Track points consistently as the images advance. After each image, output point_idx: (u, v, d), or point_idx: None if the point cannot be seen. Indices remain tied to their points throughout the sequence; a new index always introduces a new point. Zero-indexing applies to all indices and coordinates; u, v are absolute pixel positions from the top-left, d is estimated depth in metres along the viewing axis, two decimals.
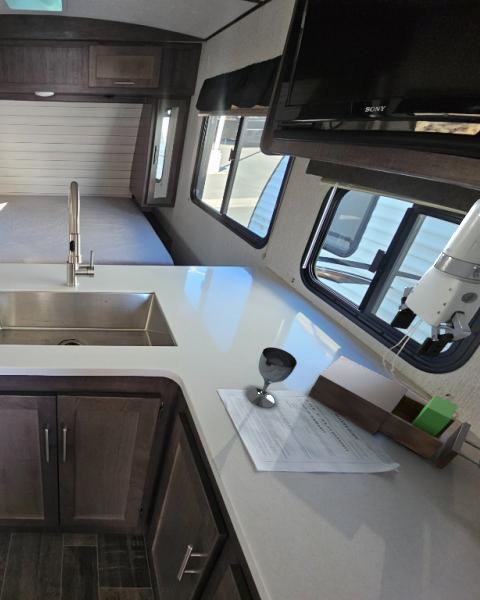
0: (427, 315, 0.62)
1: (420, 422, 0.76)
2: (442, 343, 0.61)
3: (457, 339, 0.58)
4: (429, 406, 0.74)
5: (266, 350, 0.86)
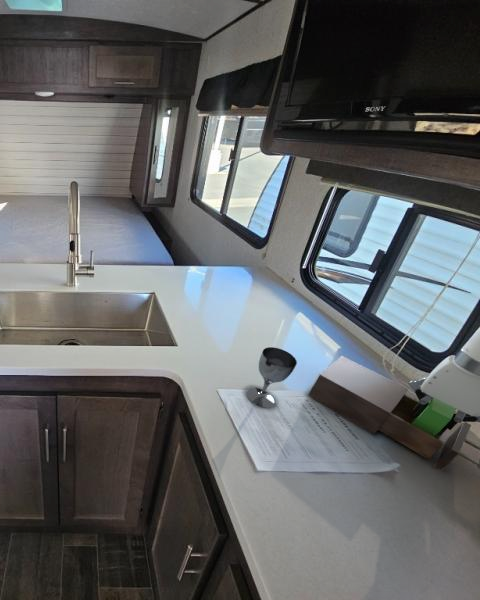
0: (465, 407, 0.70)
1: (420, 422, 0.76)
2: None
3: None
4: (429, 406, 0.74)
5: (266, 350, 0.86)
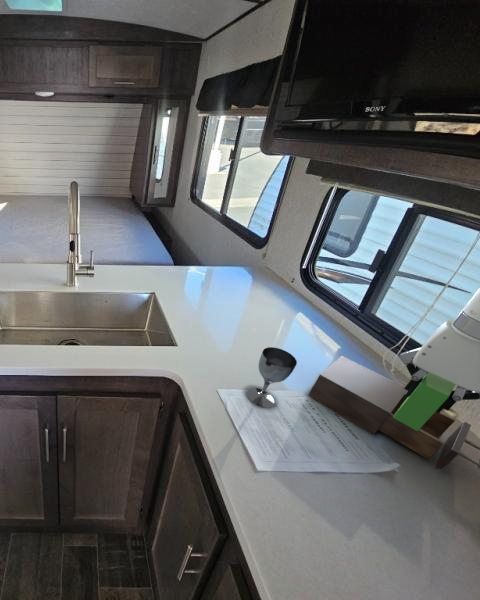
0: (466, 382, 0.58)
1: (412, 402, 0.64)
2: None
3: None
4: (423, 382, 0.62)
5: (266, 350, 0.86)
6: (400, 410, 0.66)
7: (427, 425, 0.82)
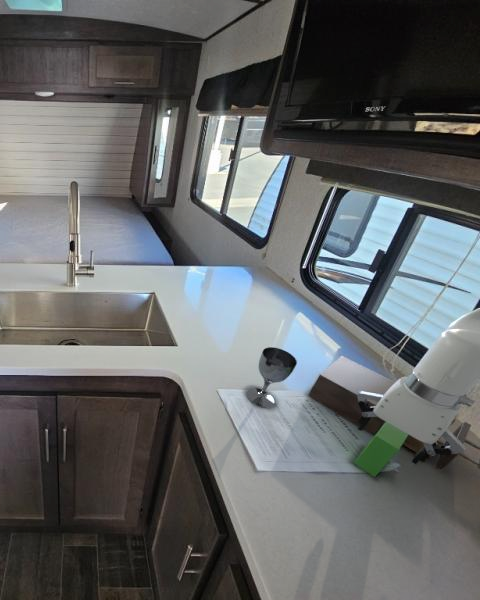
0: (418, 434, 0.64)
1: (369, 451, 0.71)
2: None
3: None
4: (378, 434, 0.69)
5: (266, 350, 0.86)
6: (359, 457, 0.73)
7: None
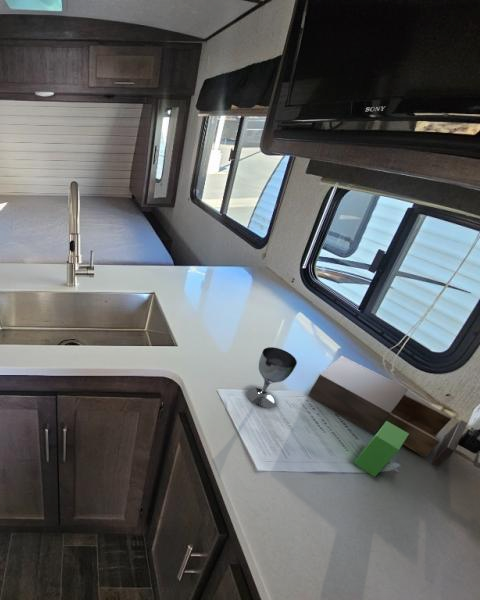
0: None
1: (369, 451, 0.71)
2: None
3: None
4: (378, 434, 0.69)
5: (266, 350, 0.86)
6: (359, 457, 0.73)
7: (424, 423, 0.82)
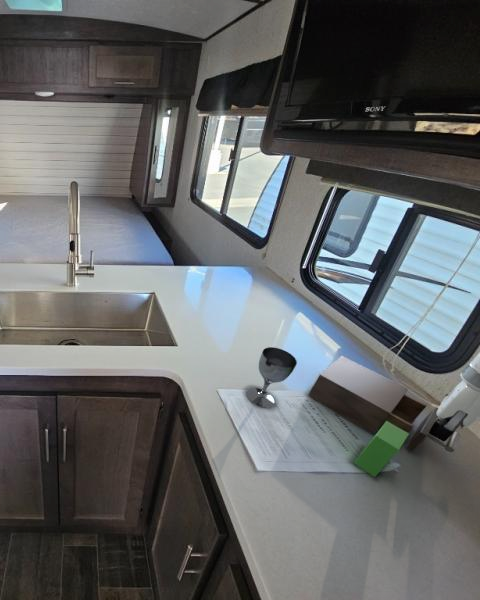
0: None
1: (369, 451, 0.71)
2: None
3: None
4: (378, 434, 0.69)
5: (266, 350, 0.86)
6: (359, 457, 0.73)
7: (401, 411, 0.85)
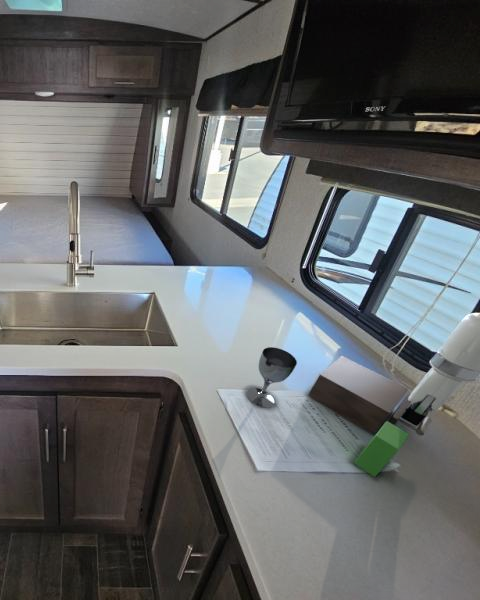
0: None
1: (369, 451, 0.71)
2: None
3: None
4: (378, 434, 0.69)
5: (266, 350, 0.86)
6: (359, 457, 0.73)
7: None
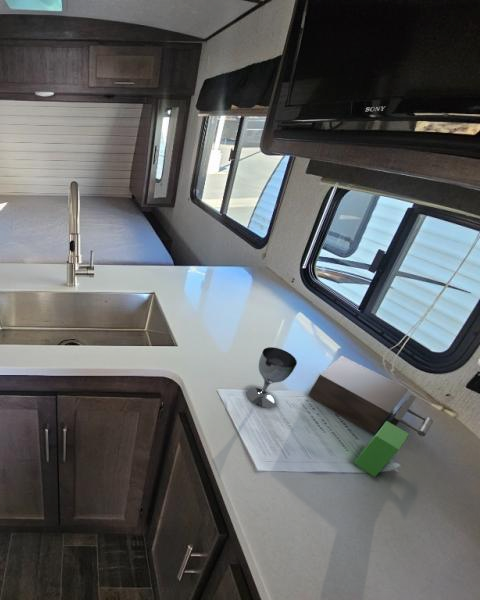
0: None
1: (369, 451, 0.71)
2: None
3: None
4: (378, 434, 0.69)
5: (266, 350, 0.86)
6: (359, 457, 0.73)
7: None
